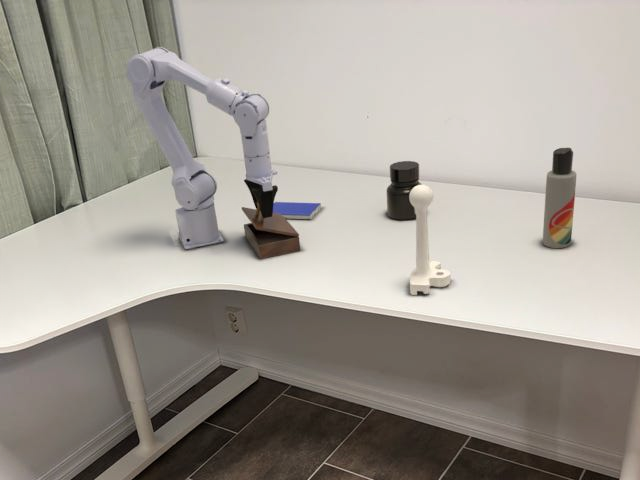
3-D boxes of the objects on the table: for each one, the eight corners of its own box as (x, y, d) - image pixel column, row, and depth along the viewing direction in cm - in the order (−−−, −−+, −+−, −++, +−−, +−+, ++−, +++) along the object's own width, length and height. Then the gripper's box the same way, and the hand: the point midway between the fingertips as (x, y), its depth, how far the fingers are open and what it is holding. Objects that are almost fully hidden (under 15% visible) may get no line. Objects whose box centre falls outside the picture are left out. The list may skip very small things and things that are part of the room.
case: (260, 259, 174) (258, 245, 172) (245, 237, 186) (243, 224, 185) (300, 250, 175) (299, 237, 174) (283, 229, 188) (281, 216, 186)
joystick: (419, 270, 159) (416, 175, 149) (455, 272, 157) (455, 176, 147) (405, 294, 151) (401, 195, 141) (444, 297, 148) (443, 196, 138)
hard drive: (263, 212, 195) (310, 213, 191) (275, 201, 202) (320, 202, 197) (264, 218, 196) (310, 220, 192) (276, 207, 202) (321, 208, 198)
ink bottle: (426, 219, 183) (426, 169, 177) (389, 223, 184) (387, 173, 178) (421, 205, 192) (420, 157, 186) (385, 209, 192) (383, 161, 186)
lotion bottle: (572, 248, 161) (580, 152, 150) (543, 248, 162) (549, 153, 152) (569, 237, 165) (577, 144, 155) (541, 238, 167) (547, 145, 157)
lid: (256, 229, 170) (260, 211, 168) (241, 209, 183) (245, 191, 181) (298, 236, 174) (303, 219, 172) (280, 216, 186) (285, 199, 185)
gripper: (283, 158, 164) (289, 219, 171) (266, 143, 177) (273, 200, 183) (250, 164, 163) (258, 225, 170) (236, 148, 175) (244, 205, 182)
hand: (264, 212), depth 177 cm, fingers closed on lid, 5 cm apart
